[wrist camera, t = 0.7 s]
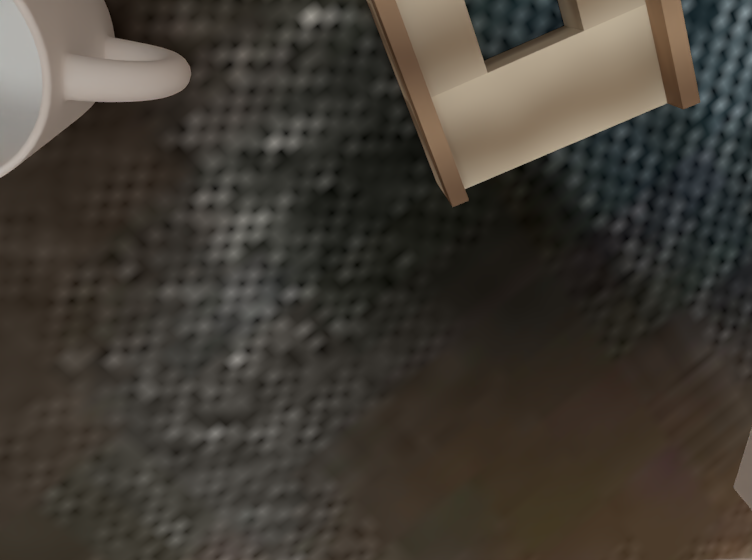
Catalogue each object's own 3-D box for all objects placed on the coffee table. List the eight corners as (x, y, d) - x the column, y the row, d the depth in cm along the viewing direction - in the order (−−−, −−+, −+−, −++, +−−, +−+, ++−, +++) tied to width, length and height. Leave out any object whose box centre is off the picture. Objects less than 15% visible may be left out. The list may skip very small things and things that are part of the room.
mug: (211, -35, 31) (179, -30, 22) (197, 149, 34) (163, 222, 25) (-88, -92, 29) (-267, -113, 20) (-73, 111, 32) (-220, 174, 23)
